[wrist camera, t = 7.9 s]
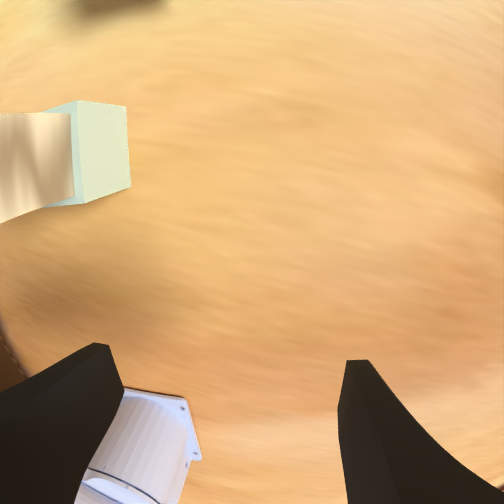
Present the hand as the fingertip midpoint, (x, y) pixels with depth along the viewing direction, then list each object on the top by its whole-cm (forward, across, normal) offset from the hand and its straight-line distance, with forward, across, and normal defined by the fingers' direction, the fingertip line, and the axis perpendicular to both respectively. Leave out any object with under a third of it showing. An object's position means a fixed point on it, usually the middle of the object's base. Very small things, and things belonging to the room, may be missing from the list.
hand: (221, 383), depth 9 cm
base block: (+10, +10, -7) cm, 16 cm away
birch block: (+6, +10, -7) cm, 13 cm away
